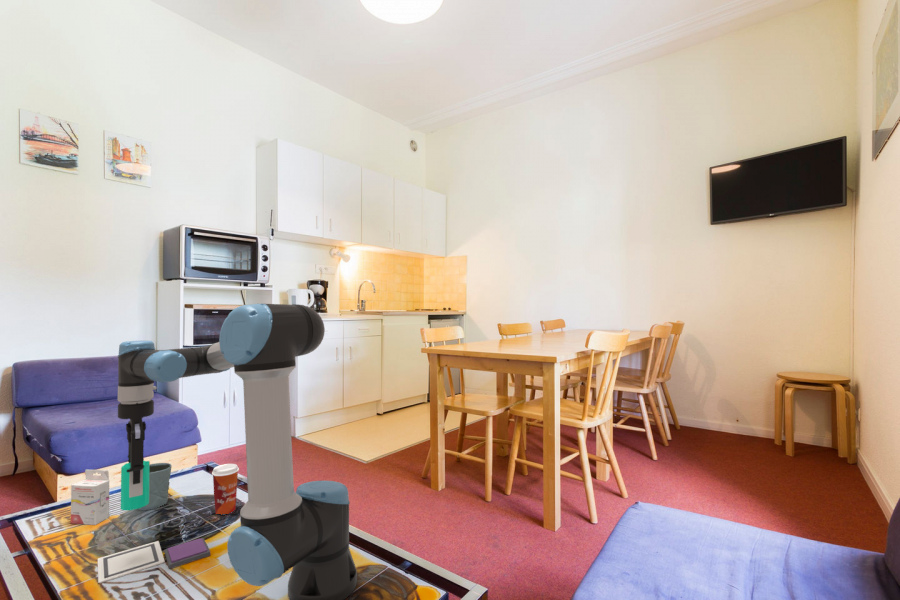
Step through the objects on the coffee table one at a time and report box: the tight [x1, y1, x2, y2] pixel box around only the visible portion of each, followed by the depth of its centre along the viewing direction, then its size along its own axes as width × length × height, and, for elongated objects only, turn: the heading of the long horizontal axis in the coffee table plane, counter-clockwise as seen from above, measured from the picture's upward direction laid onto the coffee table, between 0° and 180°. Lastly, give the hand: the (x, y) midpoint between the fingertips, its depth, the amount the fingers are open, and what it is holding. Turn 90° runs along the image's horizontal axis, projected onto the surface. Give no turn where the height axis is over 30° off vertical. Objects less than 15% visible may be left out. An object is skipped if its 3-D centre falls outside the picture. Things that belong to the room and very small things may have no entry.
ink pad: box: [164, 537, 211, 570], centre depth 113 cm, size 9×9×1 cm
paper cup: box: [211, 463, 240, 515], centre depth 137 cm, size 8×8×14 cm
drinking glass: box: [137, 462, 173, 511], centre depth 143 cm, size 10×10×12 cm
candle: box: [120, 460, 151, 511], centre depth 111 cm, size 6×6×12 cm
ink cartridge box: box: [70, 469, 110, 526], centre depth 132 cm, size 9×5×15 cm, turn 84°
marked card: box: [97, 540, 166, 584], centre depth 110 cm, size 13×13×1 cm
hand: (135, 491), depth 111 cm, fingers closed on candle, 5 cm apart
